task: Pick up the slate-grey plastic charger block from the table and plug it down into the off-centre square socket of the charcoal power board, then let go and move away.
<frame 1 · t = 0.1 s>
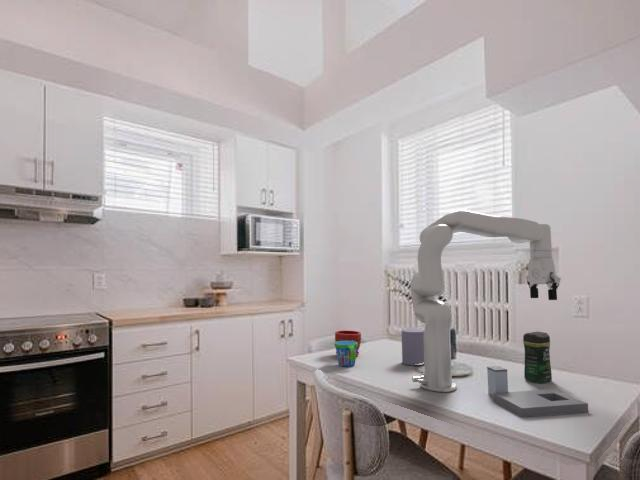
hand: (543, 298, 150), 31 cm above the table, tool pointing down, fingers open, 9 cm apart
charger block: (498, 395, 131), on the table
plant pot: (348, 356, 193), on the table
coffee jar: (538, 381, 147), on the table
container: (413, 363, 176), on the table
power socket board: (538, 406, 121), on the table
snack cup: (346, 365, 174), on the table
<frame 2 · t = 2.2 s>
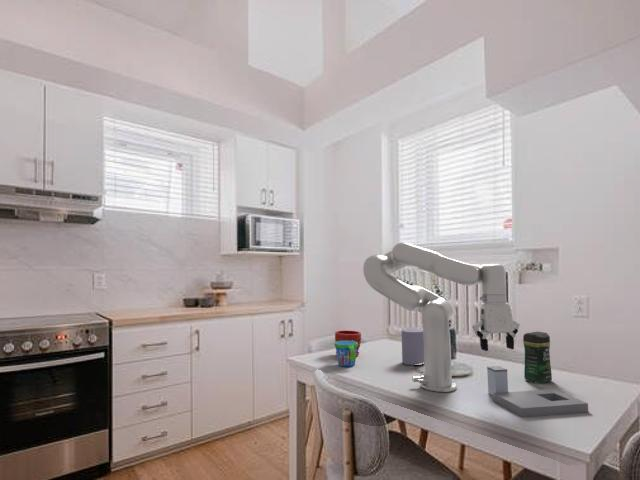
hand: (497, 349, 132), 15 cm above the table, tool pointing down, fingers open, 9 cm apart
nothing on the table moved.
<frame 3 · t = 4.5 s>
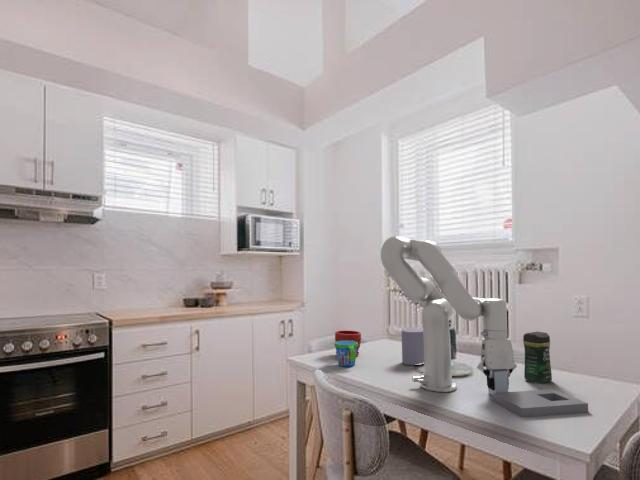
hand: (498, 387, 132), 2 cm above the table, tool pointing down, fingers closed on charger block, 4 cm apart
charger block: (498, 395, 131), on the table, touching gripper
everything else where it was.
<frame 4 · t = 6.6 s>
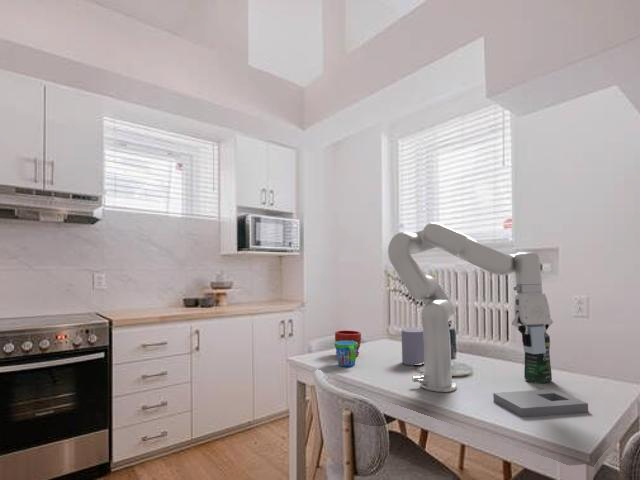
hand: (534, 344, 126), 18 cm above the table, tool pointing down, fingers closed on charger block, 4 cm apart
charger block: (534, 352, 125), point 16 cm above the table, touching gripper
everything else where it was.
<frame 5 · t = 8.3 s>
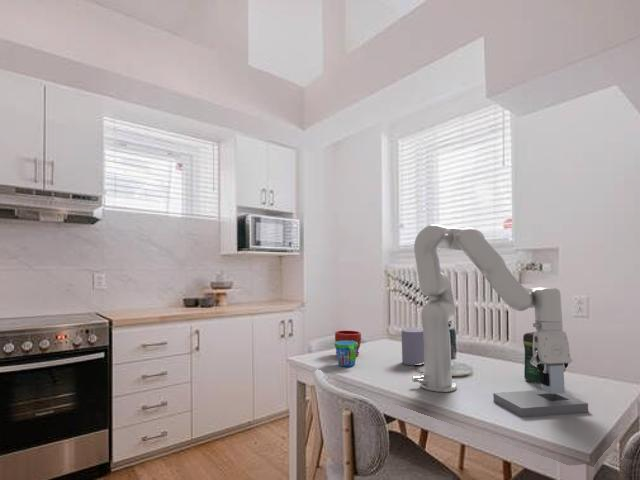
hand: (552, 383, 122), 7 cm above the table, tool pointing down, fingers closed on charger block, 4 cm apart
charger block: (552, 391, 122), point 4 cm above the table, touching gripper
everything else where it was.
when the fingers open (4 cm above the table, at t = 9.2 s): charger block drops 2 cm, resting in power socket board.
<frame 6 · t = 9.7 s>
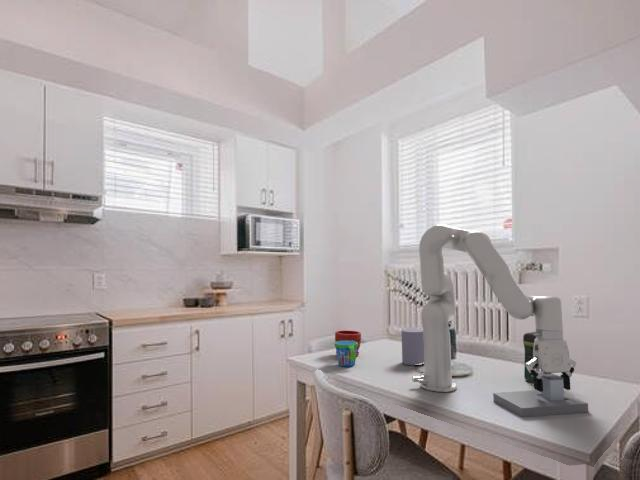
hand: (552, 389, 122), 5 cm above the table, tool pointing down, fingers open, 9 cm apart
charger block: (552, 405, 121), resting in power socket board
everything else where it was.
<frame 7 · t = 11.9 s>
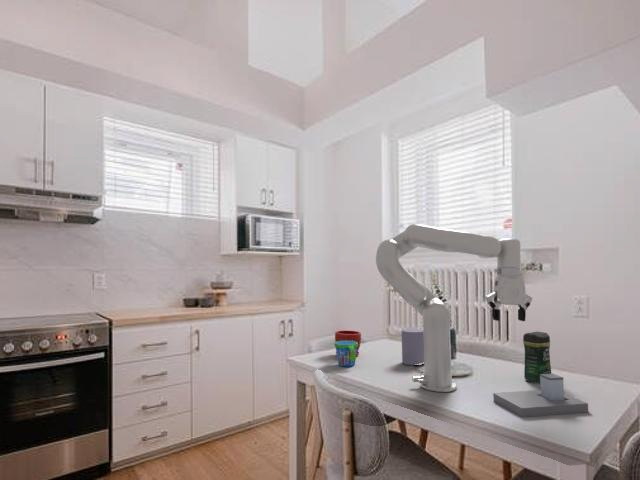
hand: (508, 320, 137), 25 cm above the table, tool pointing down, fingers open, 9 cm apart
nothing on the table moved.
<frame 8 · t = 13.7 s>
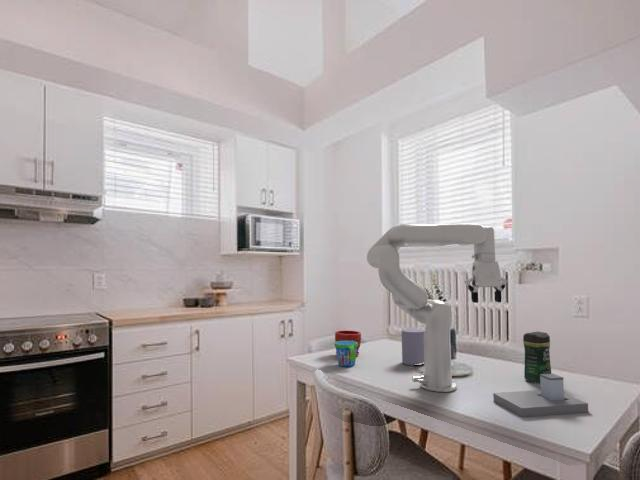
hand: (486, 302, 148), 30 cm above the table, tool pointing down, fingers open, 9 cm apart
nothing on the table moved.
at the end: charger block 0.1 cm from the target spot on the power socket board, point 0.0 cm above the power socket board's base; charger block tilted 0°; the gripper is holding nothing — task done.
